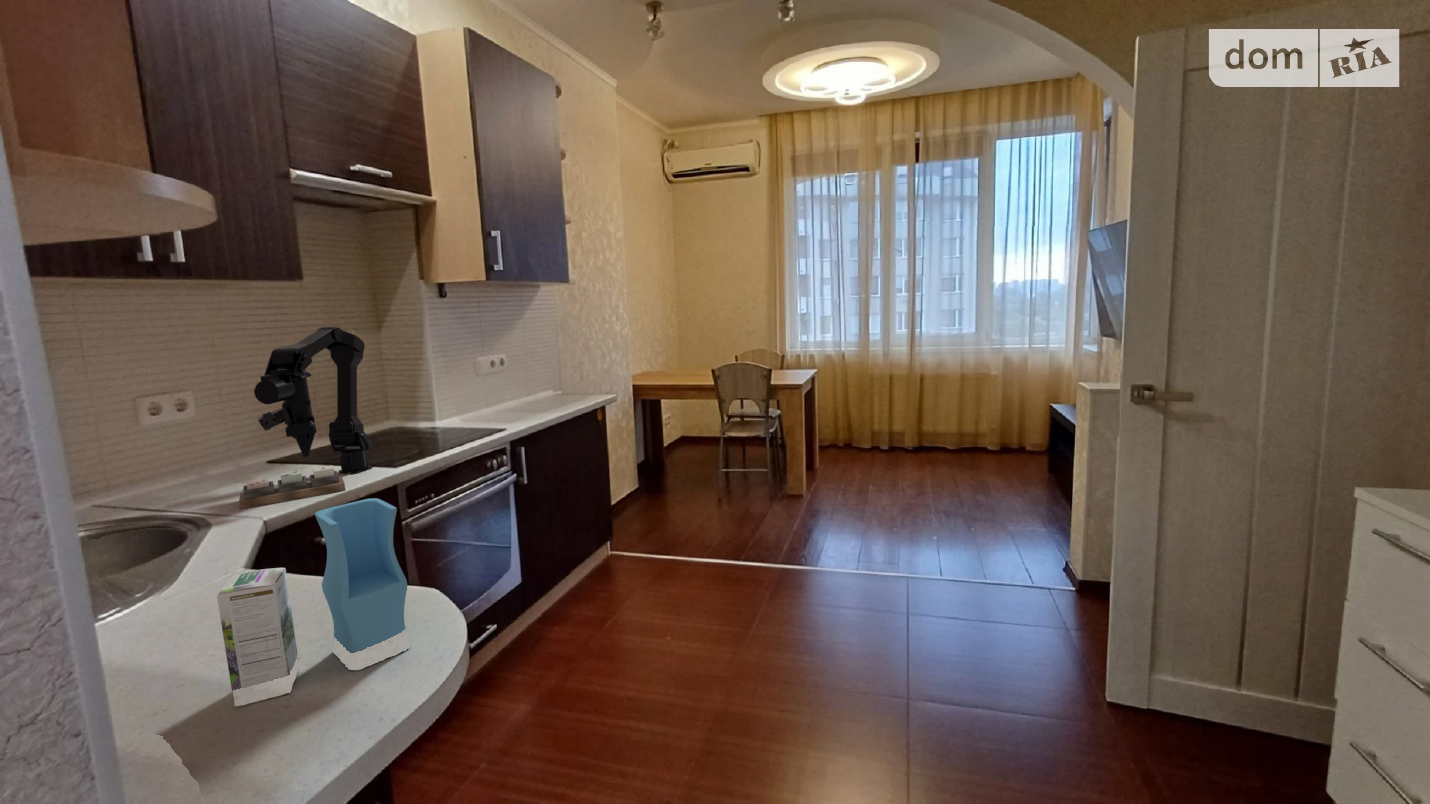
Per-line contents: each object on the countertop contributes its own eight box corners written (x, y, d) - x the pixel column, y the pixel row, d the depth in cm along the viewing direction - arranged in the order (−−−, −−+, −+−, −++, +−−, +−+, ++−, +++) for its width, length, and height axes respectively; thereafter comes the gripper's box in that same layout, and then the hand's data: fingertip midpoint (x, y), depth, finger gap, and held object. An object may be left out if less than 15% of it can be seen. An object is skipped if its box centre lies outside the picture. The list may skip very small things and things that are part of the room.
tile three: (269, 486, 157) (268, 479, 156) (269, 490, 153) (268, 482, 153) (248, 490, 154) (247, 482, 154) (247, 494, 151) (246, 486, 150)
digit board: (342, 482, 168) (340, 468, 167) (345, 490, 161) (343, 475, 160) (241, 500, 155) (238, 485, 155) (240, 509, 148) (237, 493, 147)
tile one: (333, 472, 164) (332, 465, 164) (334, 475, 161) (333, 468, 161) (313, 475, 162) (312, 468, 162) (314, 479, 158) (313, 471, 158)
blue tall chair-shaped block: (351, 674, 78) (329, 525, 75) (331, 652, 84) (310, 512, 80) (415, 647, 84) (397, 507, 81) (392, 628, 89) (375, 496, 86)
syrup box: (246, 682, 77) (227, 574, 75) (302, 669, 80) (285, 564, 77) (234, 709, 72) (213, 594, 70) (293, 694, 75) (275, 582, 72)
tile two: (302, 477, 160) (300, 470, 160) (302, 481, 157) (301, 473, 157) (281, 480, 158) (280, 473, 158) (282, 484, 154) (280, 476, 154)
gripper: (258, 396, 159) (269, 454, 162) (255, 406, 144) (266, 470, 147) (309, 391, 165) (318, 447, 168) (311, 400, 150) (321, 461, 153)
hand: (305, 456), depth 159 cm, fingers closed
